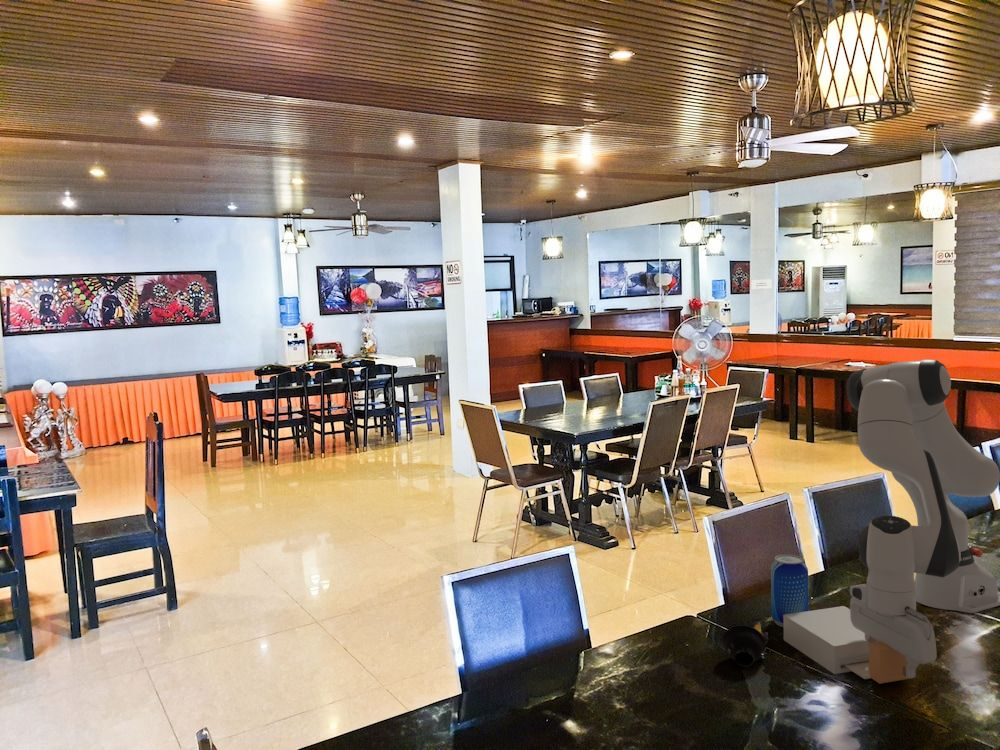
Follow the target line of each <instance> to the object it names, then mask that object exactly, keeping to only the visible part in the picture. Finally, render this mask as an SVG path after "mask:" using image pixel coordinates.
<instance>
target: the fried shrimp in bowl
mask: <svg viewBox="0 0 1000 750" xmlns="http://www.w3.org/2000/svg"><path fill="white" fill-rule="evenodd" d="M761 628H762V625H761V622H759V621H756V622H755V623H754V627H753V626H749V625H746V624H744V625H743V624H741V625H734V626H731V627H729V628H728V629H727V630H725V632H724V633H723V634H722V635H723V636H722V645H723V647H724V649H725V650H726V652H727V654H728V655H729V657H731V659H732V660H733V661H735V663H736V665H737V666H740V667H743V668H748V667H751V666H753V665H754V663H755V662H756V661H757V660H758V659H759V658H760V656H761V655H762V654H763V653H765V651H766V649H767V648H766V647H765V646H766V644H768V640H769V633H768V632H766V631H764V632H763V631H762V629H761Z"/></svg>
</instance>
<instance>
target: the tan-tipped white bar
mask: <svg viewBox="0 0 1000 750" xmlns="http://www.w3.org/2000/svg"><path fill="white" fill-rule="evenodd" d="M907 664H908V662H907V661H906V656H904V655H903V654H901V653H899V652H897V651H895V650H894V649H892V648H890V647H888V646H887V645H885V644H883V643H881V642H875V643H869V660H868V661H862V662H856V663H850V664H844V665H843V666H845V667H847V668H848V669H850V670H851V672H853V673H854V674H856V675H857V676H859V677H860V678H862V679H864V680H869V679H872V680H873V681H875V682H877V683H878V684H880V685H881V684H885V683H892V682H897V681H903V680H909V679H911V678H908V677H906V676H904V675H903V674H902V672H903V670H902V667H904V666H907Z"/></svg>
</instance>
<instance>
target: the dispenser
mask: <svg viewBox="0 0 1000 750" xmlns="http://www.w3.org/2000/svg"><path fill="white" fill-rule="evenodd" d="M783 624H784V627H783V642H786V643H787V644H789V645H790V646H792V647H793V648H795V649H796V650H797V651H799V652H800V653H802V654H804V655H806V657H808V658H810V659H811V660H812V661H814V662H815V663H817V664H818V665H820V666H821V667H823V668H825V670H828V671H829V673H832V674H833V675H838V674H844V673H850V672H852V671H851V670H850V669H848V668H847V667H845V666H843V665H844V664H850V663H856V662H862V661H868V660H869V647H868V644H867V642H866V639H865V633H863V632H862V631H860V630H858V629H856V628H854V627H853V625H852V622H851V619H850V607H846V606H845V605H841V606H835V607H828V608H821V609H814V610H813V609H812V610H809V611H806V612H799V613H792V614H786V615H783ZM877 642H879V641H878V640H877Z"/></svg>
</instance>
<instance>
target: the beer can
mask: <svg viewBox="0 0 1000 750" xmlns="http://www.w3.org/2000/svg"><path fill="white" fill-rule="evenodd" d="M770 593H771V594H770V597H771V598H770V599H771V619H772V620H773V621H774V623H775V624H776V625H777V626H778V627H780V628H784V624H783V615H786V614H792V613H799V612H806V611H810V610H809V568H808V567H807V565H806V563H805V560H804V558H803V557H801V556H799V555H795V554H778V555H776V556H775V557H774V561H773V562H772V564H771V566H770Z"/></svg>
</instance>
